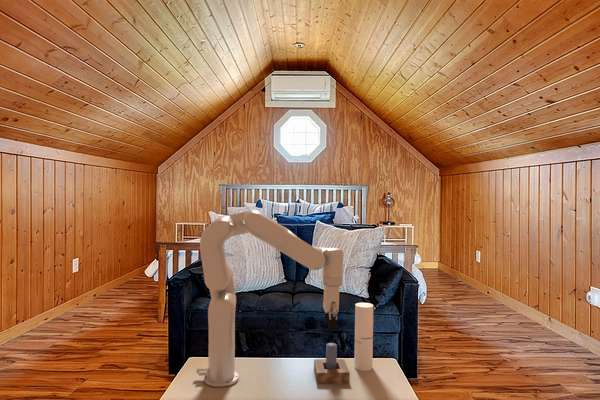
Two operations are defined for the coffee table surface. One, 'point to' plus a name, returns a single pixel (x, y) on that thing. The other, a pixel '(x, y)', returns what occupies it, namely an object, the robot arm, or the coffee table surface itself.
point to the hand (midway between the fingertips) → (330, 325)
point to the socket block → (331, 372)
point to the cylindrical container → (363, 336)
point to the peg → (331, 356)
